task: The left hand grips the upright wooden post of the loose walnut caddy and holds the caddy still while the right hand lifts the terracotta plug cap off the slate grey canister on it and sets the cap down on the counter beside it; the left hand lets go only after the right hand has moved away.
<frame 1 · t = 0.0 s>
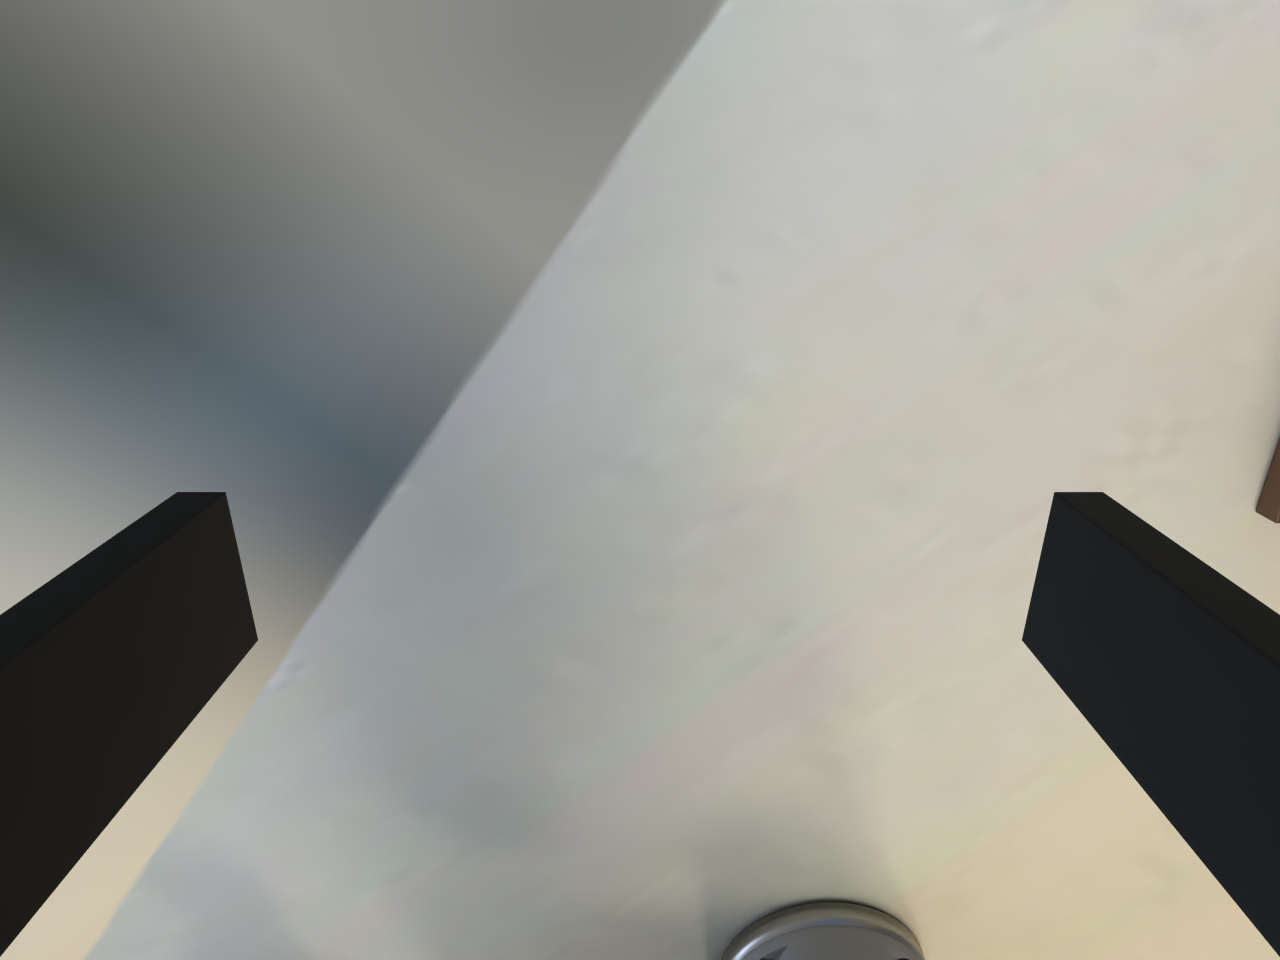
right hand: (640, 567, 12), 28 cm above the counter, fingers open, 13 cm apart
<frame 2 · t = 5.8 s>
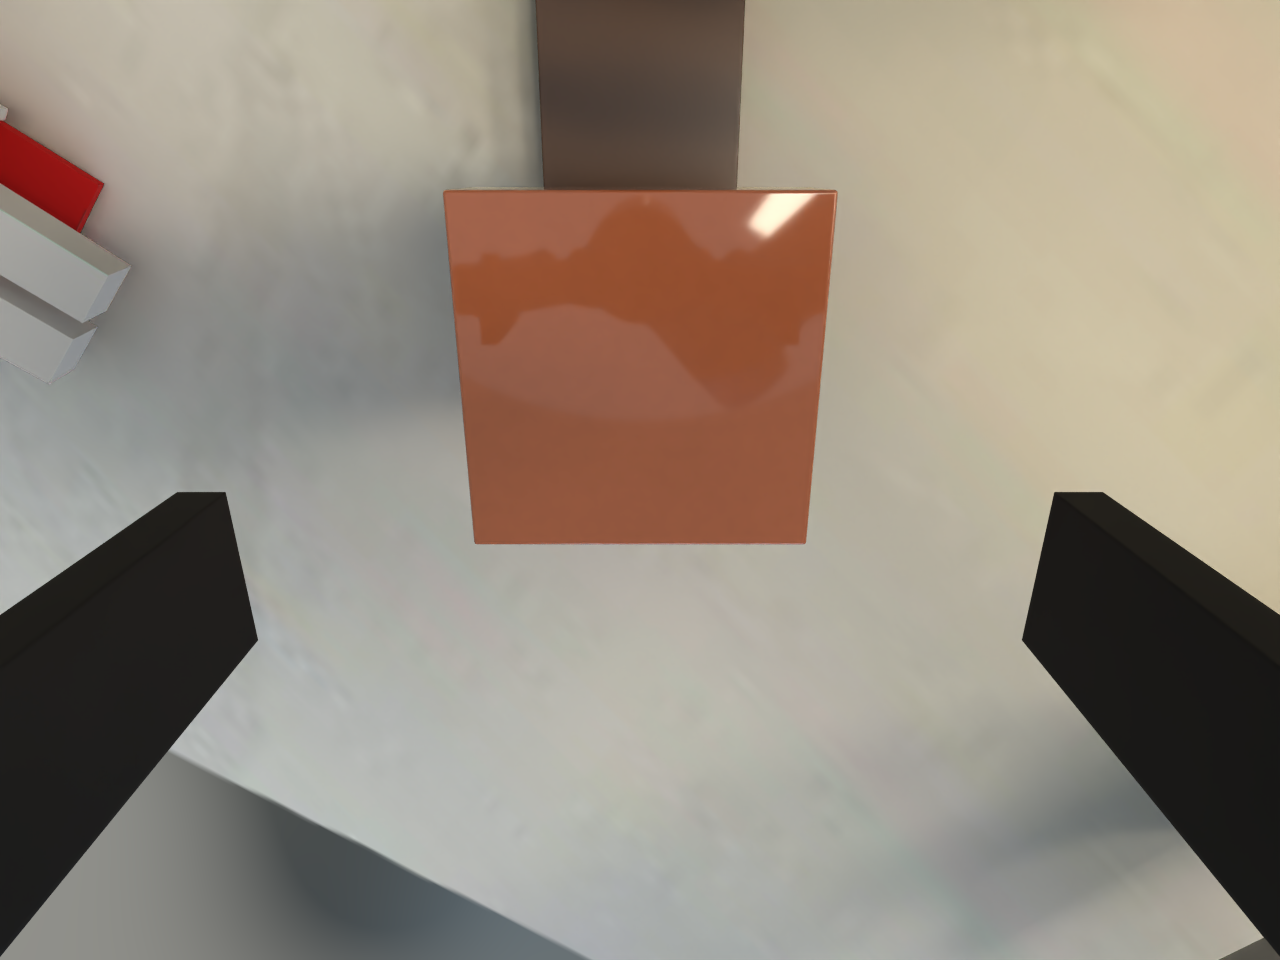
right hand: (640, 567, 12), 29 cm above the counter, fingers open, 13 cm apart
cap: (640, 347, 28), point 12 cm above the counter, touching caddy
caddy: (640, 100, 36), on the counter, touching cap, left hand
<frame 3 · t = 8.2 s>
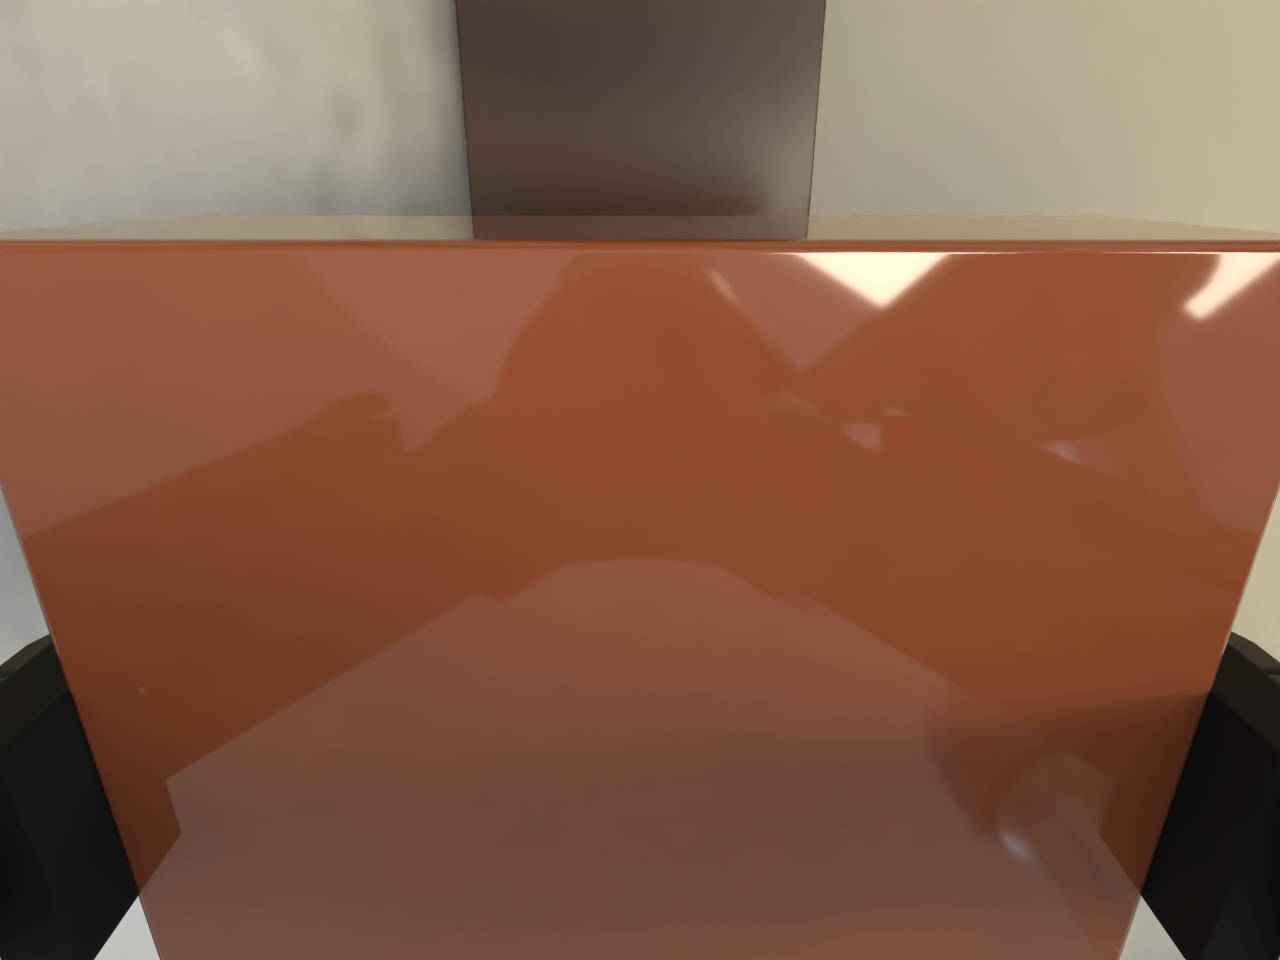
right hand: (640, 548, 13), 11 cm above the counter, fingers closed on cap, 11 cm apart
cap: (639, 564, 13), point 12 cm above the counter, touching caddy, right hand
caddy: (640, 47, 20), on the counter, touching cap, left hand
when the right hand's fingers open (3 cm above the counter, at t = 16.9 s): cap drops 3 cm, on the counter.
when the left hand's fingers open (4 cm above the counter, at t = 20.0 s): caddy stays where it is, on the counter.
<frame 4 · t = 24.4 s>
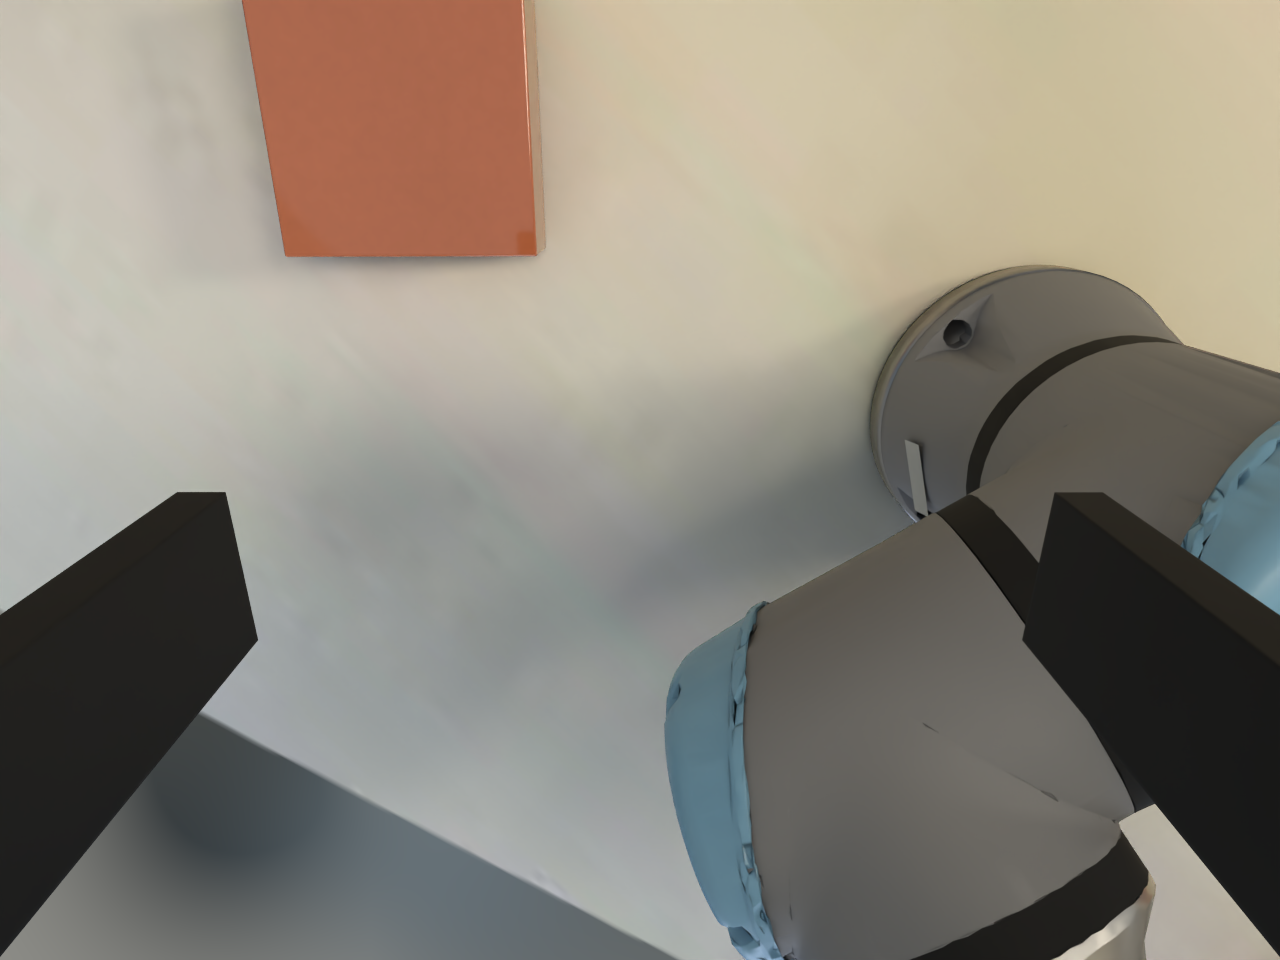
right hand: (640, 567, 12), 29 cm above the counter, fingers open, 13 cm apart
cap: (427, 124, 36), on the counter
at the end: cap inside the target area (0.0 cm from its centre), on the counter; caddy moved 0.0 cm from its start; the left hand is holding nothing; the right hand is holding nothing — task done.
